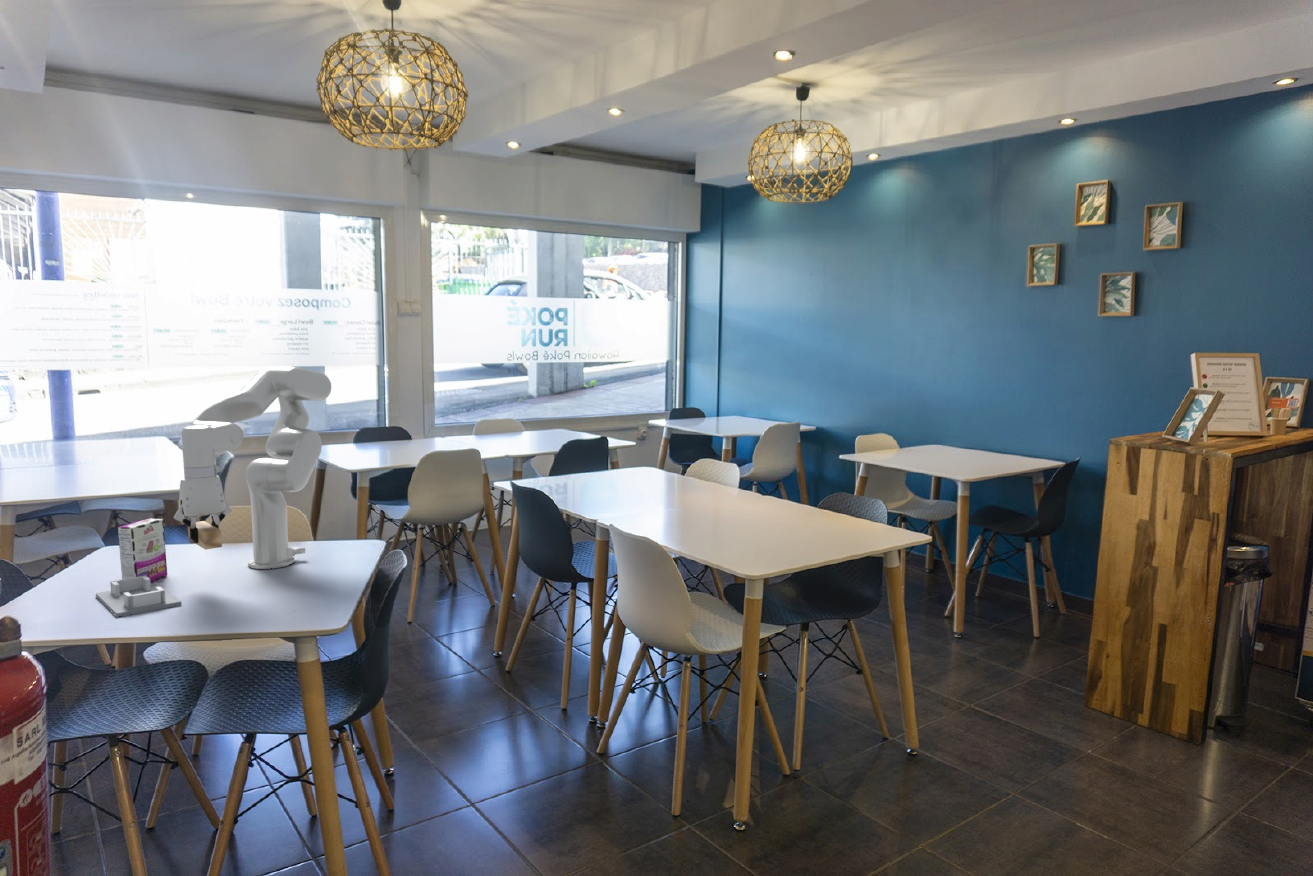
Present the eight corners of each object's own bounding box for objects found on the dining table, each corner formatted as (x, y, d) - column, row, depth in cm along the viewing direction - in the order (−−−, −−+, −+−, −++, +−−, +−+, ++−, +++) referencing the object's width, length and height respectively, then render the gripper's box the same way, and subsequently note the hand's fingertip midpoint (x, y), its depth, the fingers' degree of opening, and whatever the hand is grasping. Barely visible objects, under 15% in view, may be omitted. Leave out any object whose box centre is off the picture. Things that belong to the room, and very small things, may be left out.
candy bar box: (152, 575, 241) (149, 517, 239) (168, 576, 240) (164, 518, 238) (120, 586, 230) (116, 526, 228) (136, 587, 229) (132, 527, 227)
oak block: (204, 536, 234) (203, 520, 233) (222, 546, 224) (220, 530, 223) (188, 539, 231) (187, 523, 231) (205, 549, 221) (204, 532, 221)
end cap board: (157, 586, 230) (156, 571, 230) (181, 605, 214) (180, 589, 214) (96, 597, 220) (95, 581, 220) (116, 617, 205) (115, 601, 204)
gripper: (229, 467, 233) (233, 532, 236) (160, 474, 222) (165, 543, 224) (238, 470, 228) (243, 537, 231) (169, 478, 217) (174, 548, 219)
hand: (204, 539), depth 227 cm, fingers closed on oak block, 4 cm apart
